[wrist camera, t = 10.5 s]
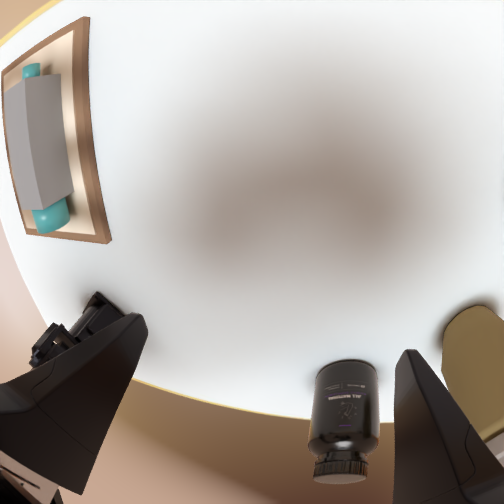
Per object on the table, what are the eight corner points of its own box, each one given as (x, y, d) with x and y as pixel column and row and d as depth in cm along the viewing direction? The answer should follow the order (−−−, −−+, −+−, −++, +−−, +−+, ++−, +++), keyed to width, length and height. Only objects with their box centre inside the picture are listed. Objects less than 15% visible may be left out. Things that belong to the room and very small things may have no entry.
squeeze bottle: (508, 290, 17) (575, 451, 2) (483, 347, 21) (517, 489, 6) (443, 299, 20) (495, 501, 4) (424, 358, 23) (442, 520, 8)
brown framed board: (111, 240, 24) (104, 245, 23) (30, 231, 26) (25, 235, 26) (89, 17, 13) (81, 16, 12) (6, 70, 16) (-1, 71, 15)
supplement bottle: (351, 349, 24) (350, 466, 14) (388, 375, 26) (393, 475, 15) (302, 376, 28) (286, 478, 18) (340, 398, 29) (334, 488, 19)
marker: (80, 215, 22) (51, 236, 19) (55, 215, 23) (28, 233, 19) (60, 57, 14) (25, 60, 11) (36, 71, 15) (3, 76, 12)
